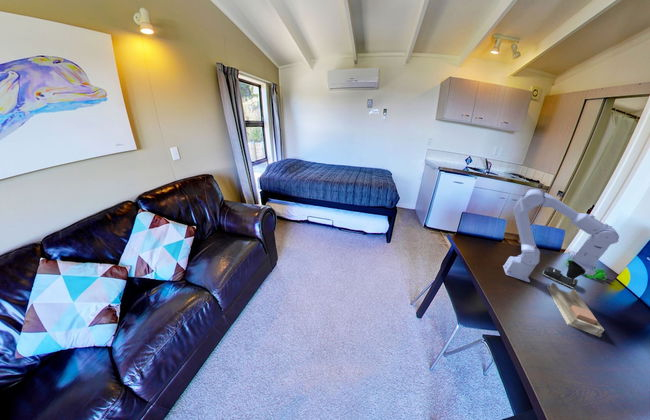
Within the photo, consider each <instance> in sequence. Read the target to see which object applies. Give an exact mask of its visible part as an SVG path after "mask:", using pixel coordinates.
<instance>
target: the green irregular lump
mask: <svg viewBox="0 0 650 420" xmlns="http://www.w3.org/2000/svg"><path fill="white" fill-rule="evenodd" d="M569 260H571V261H573V260H572V257H569V258H568V259H567V260H566V263H565V265H566V266H567V267H569V263H568V261H569ZM596 268H597V267H594V270H595V272H596V273H595V274H594V275H593V276H591V275H588V274H585V275H586V277H587V278H588V279H589V280H592V279H593V278H595V279H597V280H598V281H601V280H603V281H605V280H607V275H608V272H607V271H606V270H604V269H602V268H598V269H596ZM604 277H605V278H604ZM603 278H604V279H603Z"/></svg>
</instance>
